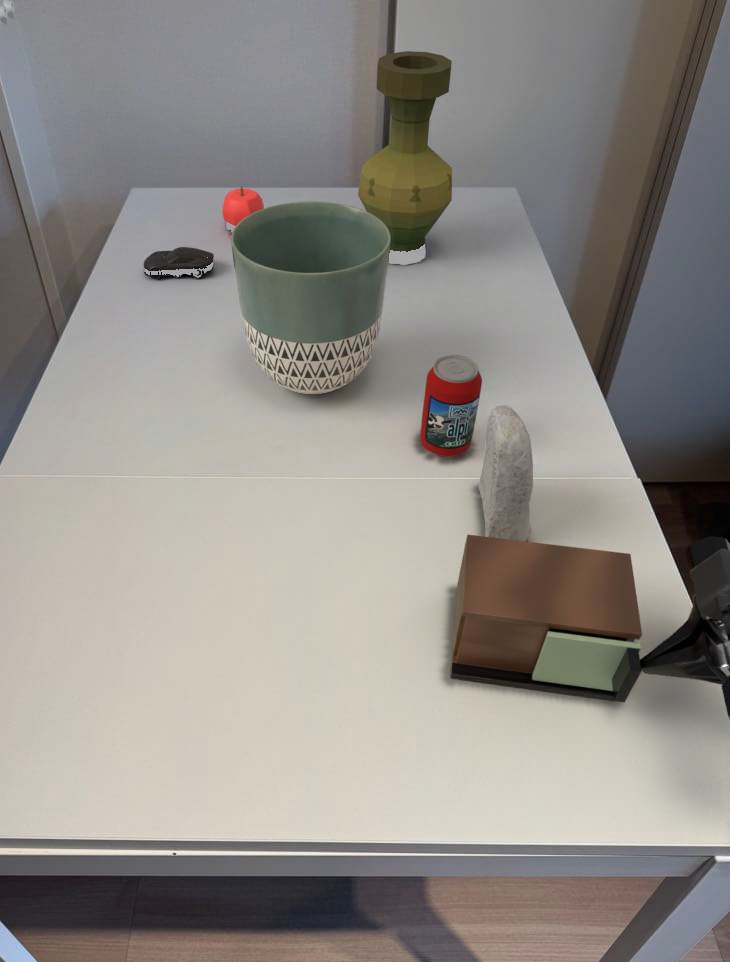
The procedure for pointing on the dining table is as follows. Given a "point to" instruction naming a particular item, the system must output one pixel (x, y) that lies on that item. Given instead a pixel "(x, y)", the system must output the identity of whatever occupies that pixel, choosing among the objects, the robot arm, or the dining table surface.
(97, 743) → the dining table surface
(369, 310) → the planter
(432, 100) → the vase
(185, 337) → the dining table surface
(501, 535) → the decorative stone
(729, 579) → the robot arm
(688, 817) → the dining table surface
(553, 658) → the sliding cabinet door
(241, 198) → the apple
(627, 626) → the cabinet
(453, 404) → the beverage can
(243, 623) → the dining table surface
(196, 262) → the toy car
